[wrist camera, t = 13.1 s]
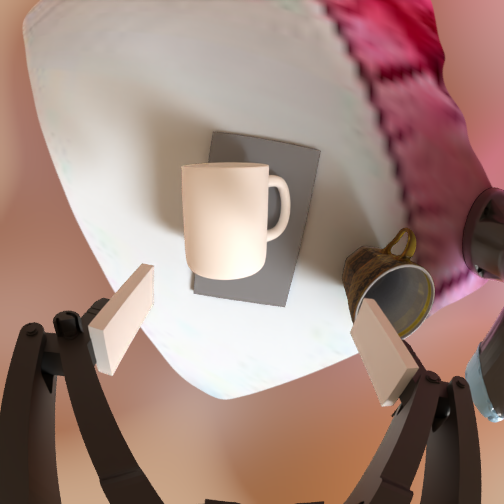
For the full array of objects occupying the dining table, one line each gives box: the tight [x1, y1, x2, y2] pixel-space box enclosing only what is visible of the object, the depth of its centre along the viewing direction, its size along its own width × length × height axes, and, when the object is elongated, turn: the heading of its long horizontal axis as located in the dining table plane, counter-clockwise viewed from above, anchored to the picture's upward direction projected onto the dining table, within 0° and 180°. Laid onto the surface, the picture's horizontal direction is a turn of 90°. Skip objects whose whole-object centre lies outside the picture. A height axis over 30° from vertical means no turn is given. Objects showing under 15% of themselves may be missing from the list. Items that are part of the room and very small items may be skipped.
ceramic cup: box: [342, 228, 435, 339], centre depth 29 cm, size 13×10×10 cm
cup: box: [181, 162, 290, 280], centre depth 28 cm, size 8×12×10 cm
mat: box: [194, 132, 321, 307], centre depth 32 cm, size 20×12×1 cm, turn 170°
